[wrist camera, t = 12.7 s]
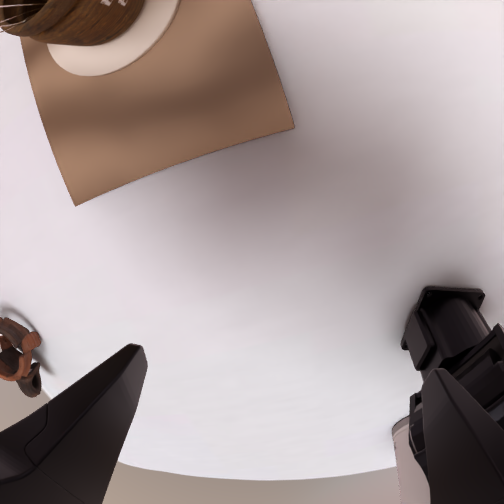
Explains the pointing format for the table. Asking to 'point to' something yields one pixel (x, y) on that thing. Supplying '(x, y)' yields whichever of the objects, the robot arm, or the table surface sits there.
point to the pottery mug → (19, 357)
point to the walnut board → (156, 93)
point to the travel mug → (409, 468)
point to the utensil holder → (69, 20)
